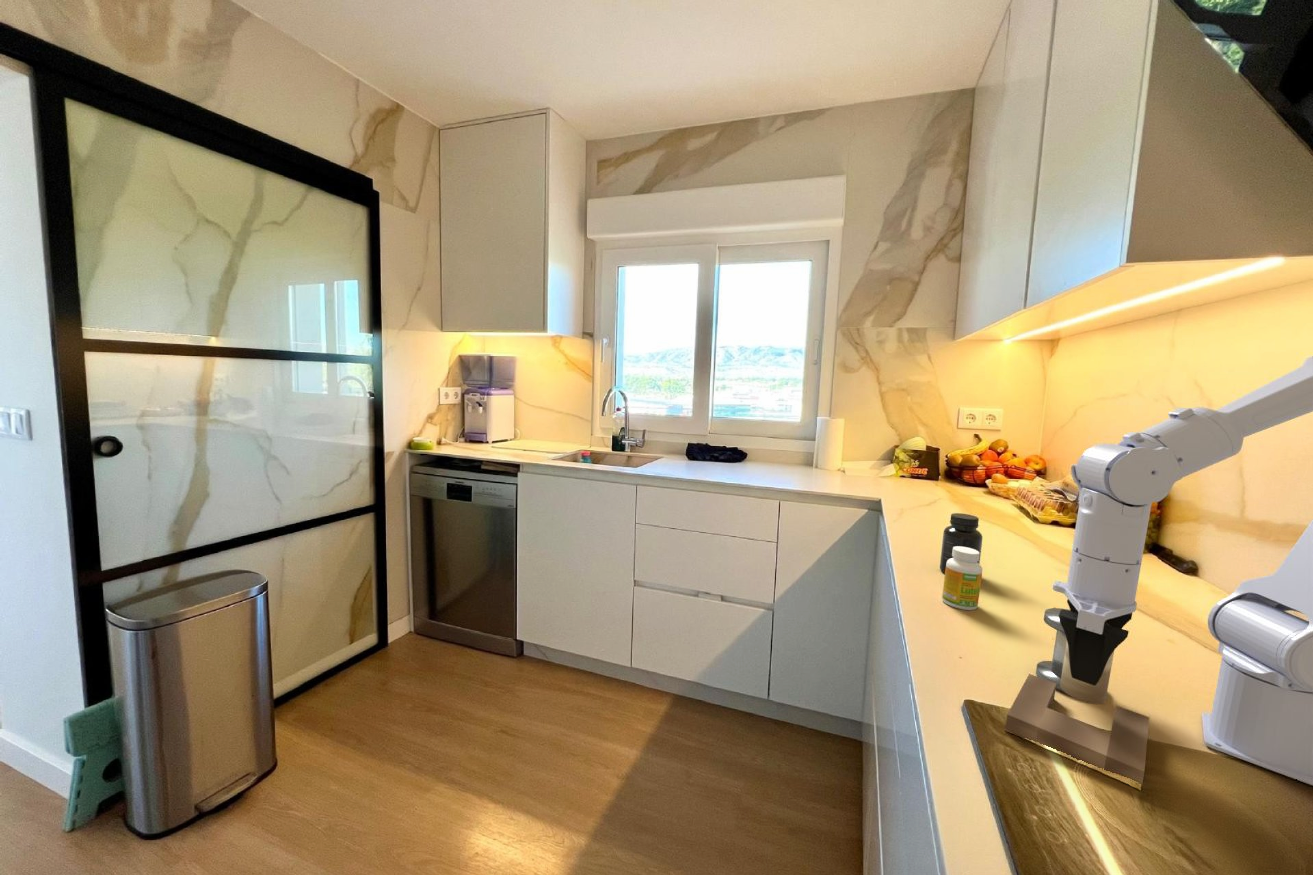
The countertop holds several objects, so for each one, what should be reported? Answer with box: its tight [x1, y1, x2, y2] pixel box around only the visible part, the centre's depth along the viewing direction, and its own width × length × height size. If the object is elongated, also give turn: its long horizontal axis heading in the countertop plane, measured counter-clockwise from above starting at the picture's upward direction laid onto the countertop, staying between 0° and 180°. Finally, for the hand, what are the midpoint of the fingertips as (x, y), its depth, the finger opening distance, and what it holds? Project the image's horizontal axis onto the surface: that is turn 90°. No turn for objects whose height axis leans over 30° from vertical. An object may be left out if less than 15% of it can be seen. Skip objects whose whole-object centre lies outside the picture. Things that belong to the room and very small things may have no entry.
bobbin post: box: [1035, 607, 1071, 696], centre depth 67 cm, size 7×7×8 cm
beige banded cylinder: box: [1060, 624, 1115, 705], centre depth 58 cm, size 4×4×8 cm
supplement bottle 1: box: [939, 512, 983, 575], centre depth 105 cm, size 7×7×12 cm
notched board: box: [1004, 673, 1150, 786], centre depth 57 cm, size 11×12×2 cm
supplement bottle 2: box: [941, 546, 983, 611], centre depth 90 cm, size 5×5×10 cm
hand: (1086, 672), depth 58 cm, fingers closed on beige banded cylinder, 4 cm apart
